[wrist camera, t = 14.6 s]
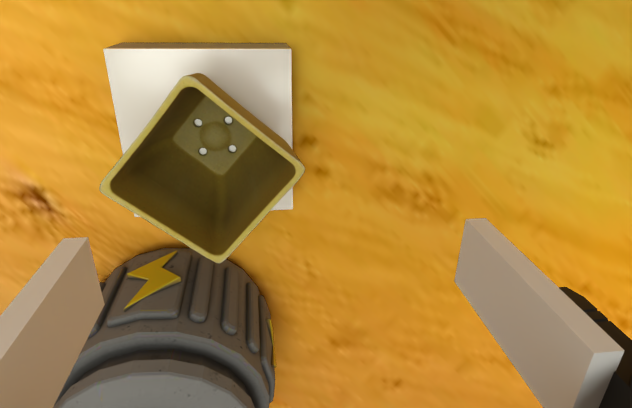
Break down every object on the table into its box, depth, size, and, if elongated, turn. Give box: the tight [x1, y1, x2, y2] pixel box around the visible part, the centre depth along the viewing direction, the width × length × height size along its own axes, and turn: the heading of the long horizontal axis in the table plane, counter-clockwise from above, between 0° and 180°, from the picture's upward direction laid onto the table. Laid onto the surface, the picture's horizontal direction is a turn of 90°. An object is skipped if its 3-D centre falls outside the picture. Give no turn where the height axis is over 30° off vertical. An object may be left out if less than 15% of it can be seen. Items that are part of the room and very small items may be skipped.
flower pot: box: [99, 73, 305, 263], centre depth 29 cm, size 9×9×9 cm
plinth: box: [103, 43, 293, 217], centre depth 35 cm, size 13×13×5 cm
